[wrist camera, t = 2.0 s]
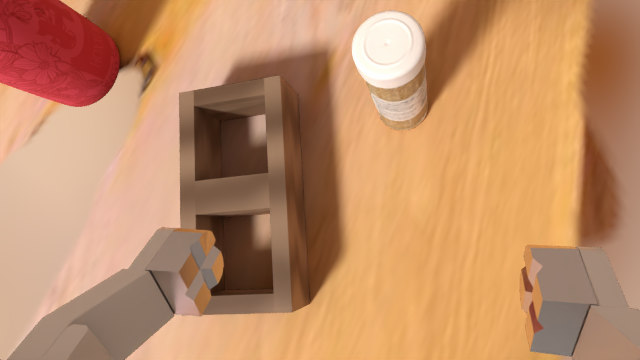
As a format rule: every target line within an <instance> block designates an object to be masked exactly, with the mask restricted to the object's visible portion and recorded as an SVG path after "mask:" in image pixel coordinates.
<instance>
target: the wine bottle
mask: <svg viewBox="0 0 640 360" xmlns="http://www.w3.org/2000/svg"><path fill="white" fill-rule="evenodd" d="M119 66H120V57H119V52H118V49H117V46H116V44H115V42H114V41H113V39H112V38H111V37H110V36H109V35H108V34H107V33H106V32H105V31H103V30H102V29H101V28H99V27H98V26H97V25H95V24H94V23H92V22H91V21H89V20H88V19H86V18H85V17H84V16H82V15H81V14H79V13H78V12H76V11H75V10H73V9H72V8H70V7H69V6H67V5H66V4H64V3H63V2H61V1H60V0H0V83H3V84H6V85H8V86H11V87H14V88H17V89H20V90H23V91H25V92H28V93H31V94H34V95H37V96H40V97H43V98H46V99H49V100H52V101H55V102H58V103H62V104H65V105H69V106H75V107H82V106H87V105H90V104H93V103H95V102H97V101H98V100H100V99H101V98H103V97H104V96H105V95H106V94H107V93H108V92H109V90H110V89H111V88H112V86H113V85H114V83H115V80H116V78H117V75H118V72H119Z"/></svg>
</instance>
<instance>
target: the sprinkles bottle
mask: <svg viewBox="0 0 640 360" xmlns="http://www.w3.org/2000/svg"><path fill="white" fill-rule="evenodd" d="M352 55H353V59H354V62H355V65H356V67H357V69H358V71H359V73H360V75H361V76H362V77H363V79H364V80H365V81H366V84H367V86H368V88H369V90H370V94H371V97H372V99H373V101H374V103H375V106H376V108H377V110H378V112H379V115H380V118H381V120H382V121H383V122H384V123H385V124H386V125H387V126H388V127H389V128H391V129H394V130H397V131H407V130H411V129H413V128H415V127H417V126H418V125H419V124H420V123H421V122H422V121H423V120H424V119H425V117H426V114H427V110H428V99H427V83H426V68H425V63H424V62H425V58H426V42H425V36H424V32H423V30H422V27H421V26H420V24H419V23H418V22H417V21H416V20H415V19H414V18H413V17H412V16H410V15H409V14H407V13H404V12H400V11H392V10H390V11H383V12H380V13H377V14H375V15H373V16H371V17H369V18H368V19H367V20H366V21H364V22H363V23H362V24H361V26H360V27H359V28H358V30H357V32H356V34H355V36H354V39H353V43H352Z"/></svg>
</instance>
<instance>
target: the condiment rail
mask: <svg viewBox="0 0 640 360" xmlns="http://www.w3.org/2000/svg"><path fill="white" fill-rule="evenodd" d="M263 114H266V134H267V157H268V173H261V174H252V175H243V176H235V177H226V178H222V164H221V126H220V121H224V120H230V119H237V118H243V117H250V116H256V115H263ZM179 117H180V218H181V228H183V229H197V230H208V231H212V233H213V235H214V237H215V239H216V241H215V243H214V246H215V247H216V248H217V249H218V250H220V251H221V254H222V256H223V262H224V240H223V218H227V217H238V216H250V215H261V214H270V224H271V246H272V269H273V288H269V289H245V290H225V278H224V267H223V273H222V276H221V278H220V281H219V283H218V284H217V285H215V286H214V287H213V288H211V289H210V292H211V296H212V297H211V299H210V300H209V302H208V304H207V306H206V308H205V310H204V312H203V314H202V315H214V314H251V313H288V312H294V311H296V310H298V309H300V308H302V307H304V306H306V305H308V304H310V294H309V277H308V260H307V243H306V226H305V209H304V191H303V174H302V157H301V140H300V123H299V105H298V94H297V93H296V92H295V91H294V90H293V89H292V88H291V87H290V85H289V84H288V83H287V82H286V81H285V80H284V79H283V78H282V77H281V76H280V75H278V76H273V77H267V78H261V79H256V80H250V81H244V82H239V83H233V84H227V85H222V86H216V87H211V88H205V89H199V90H194V91H188V92H182V93H179Z"/></svg>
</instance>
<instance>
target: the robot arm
mask: <svg viewBox="0 0 640 360" xmlns="http://www.w3.org/2000/svg"><path fill="white" fill-rule="evenodd" d="M215 241H216V239H215V237H214V235H213V233H212V231H208V230H197V229H183V228H165V227H162V228H160V229H158V230H157V231H156V232H155V234H154V235H153V236H152V238H151V239H150V240H149V242H148V243H147V244H146V246H145V247H144V248H143V250H142V251H141V252H140V254H139V255H138V256H137V258H136V259H135V260H134V262H133V263H132V264H131V266H130V267H129V268H128V269H122V270H121V271H119V272H117V273H116V274H114V275H112V276H111V277H109V278H108V279H106V280H104V281H103V282H101V283H99V284H98V285H96V286H94V287H93V288H91V289H89V290H88V291H86V292H85V293H83V294H81V295H80V296H78V297H76V298H75V299H73V300H71V301H70V302H68V303H66V304H65V305H63V306H61V307H60V308H58V309H57V310H55V311H53V312H52V313H50V314H48V315H47V316H45V317H43V318H42V319H41V320H40V321H39V322H38V324H37V325H36V326H35V327H34V328H33V330H32V331H31V332H30V333H29V334H28V335H27V337H26V338H25V339H24V340H23V341H22V343H21V344H20V345H19V346H18V347H17V348H16V350H15V351H14V352H13V353H12V354H11V355H10V357H9V358H8V359H7V360H125V359H126V358H127V357H128V356H129V355H131V354H132V353H133V352H134V351H135V350H136V349H137V348H138V347H140V346H141V345H142V344H143V343H144V342H145V341H146V340H148V339H149V338H150V337H151V336H152V335H153V334H154V333H156V332H157V331H158V330H159V329H160V328H161V327H162V326H163V325H165V324H166V323H167V322H168V321H169V320H170V319H171V318H173V317H174V314H178V315H191V316H202V314H203V312H204V310H205V308H206V306H207V304H208V302H209V300H210V299H211V297H212V296H211V292H210V289H211V288H213V287H214V286H215V285H217V284H218V283H219V281H220V278H221V276H222V273H223V267H224V262H223V256H222V254H221V251H220V250H218V249H217V248H216V247H215V246H214V243H215ZM524 260H525V265H526V266H525V267H524V268H523V269H521V275H520V290H519V291H520V300H521V306H522V309H523V310H524V311H525V312H526V313H527V318H526V323H525V328H526V333H527V338H528V344H529V349H530V351H532V352H539V353H547V354H555V355H562V356H570V357H572V360H640V311H639V310H638V309H632V308H629V306H628V304H627V301H626V299H625V297H624V294H623V292H622V290H621V287H620V285H619V283H618V280H617V278H616V276H615V273H614V271H613V268H612V266H611V264H610V261H609V259H608V257H607V254H606V252H605V251H604V250H603V249H602V248H598V247H570V246H544V245H527V247H526V249H525V253H524ZM0 360H1V359H0Z"/></svg>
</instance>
